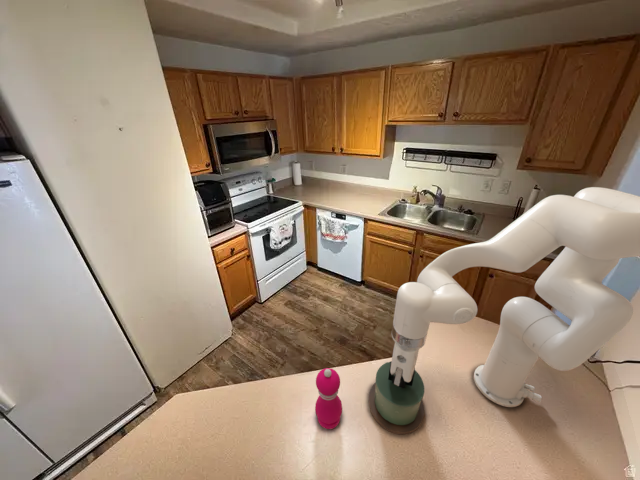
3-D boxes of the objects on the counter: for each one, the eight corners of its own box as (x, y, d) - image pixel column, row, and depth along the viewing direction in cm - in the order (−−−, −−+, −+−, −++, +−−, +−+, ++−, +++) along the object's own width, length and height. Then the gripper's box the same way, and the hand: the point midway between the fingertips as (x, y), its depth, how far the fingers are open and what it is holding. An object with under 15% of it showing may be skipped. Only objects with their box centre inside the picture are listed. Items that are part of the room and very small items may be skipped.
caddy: (419, 433, 66) (429, 398, 58) (370, 417, 69) (374, 382, 62) (419, 387, 76) (427, 353, 69) (376, 375, 79) (380, 342, 72)
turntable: (428, 394, 75) (428, 391, 75) (417, 447, 64) (417, 444, 64) (378, 371, 82) (378, 368, 82) (360, 415, 71) (360, 413, 70)
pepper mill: (340, 434, 67) (340, 388, 58) (313, 428, 69) (309, 382, 59) (343, 405, 73) (344, 359, 64) (318, 401, 75) (316, 355, 65)
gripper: (419, 366, 52) (406, 416, 60) (432, 315, 63) (420, 363, 72) (382, 351, 55) (375, 400, 64) (401, 305, 67) (393, 352, 76)
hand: (399, 380), depth 68 cm, fingers closed, pressing on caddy
